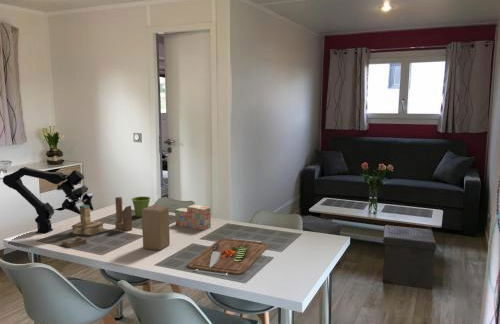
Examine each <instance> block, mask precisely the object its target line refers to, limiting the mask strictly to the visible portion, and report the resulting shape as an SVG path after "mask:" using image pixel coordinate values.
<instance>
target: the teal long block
mask: <svg viewBox="0 0 500 324" xmlns="http://www.w3.org/2000/svg"><path fill="white" fill-rule="evenodd" d="M79 210H80V212H81V214H79V218H80V222H81V226H88V225H91V222H92V221H91V210H90V205H84V204H82V205H80V206H79Z"/></svg>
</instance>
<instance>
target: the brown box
mask: <svg viewBox="0 0 500 324" xmlns="http://www.w3.org/2000/svg"><path fill="white" fill-rule="evenodd" d="M71 228H72V234H74V235H86V236H87V235H89V236H95V235H97V234H99V233H102V231H104V222H102V221H91V225H88V226H81V221H79V222H78V223H75V224H73V225H71Z"/></svg>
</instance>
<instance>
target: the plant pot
mask: <svg viewBox="0 0 500 324" xmlns="http://www.w3.org/2000/svg"><path fill="white" fill-rule="evenodd" d="M150 200H151V196H136V197H135V196H134V197H132V198H131V201H132V204H133V209H134V213H135V217H137V218H142V209H145V208H147V207H149V205H150Z"/></svg>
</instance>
